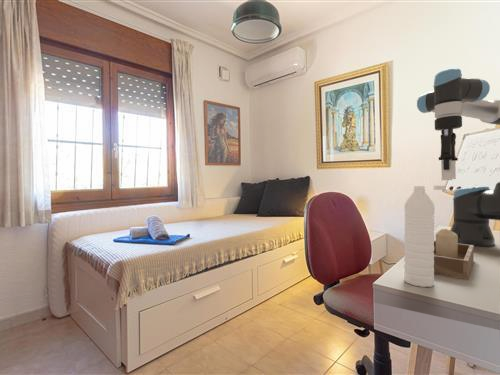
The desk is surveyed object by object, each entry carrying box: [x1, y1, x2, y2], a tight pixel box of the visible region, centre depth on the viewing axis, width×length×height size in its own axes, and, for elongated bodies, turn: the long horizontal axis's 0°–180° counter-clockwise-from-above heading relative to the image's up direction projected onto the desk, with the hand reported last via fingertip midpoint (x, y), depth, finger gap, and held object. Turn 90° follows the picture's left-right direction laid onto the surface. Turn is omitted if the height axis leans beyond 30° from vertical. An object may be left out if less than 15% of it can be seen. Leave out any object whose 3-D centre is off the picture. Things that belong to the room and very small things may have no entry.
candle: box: [435, 228, 459, 259], centre depth 83 cm, size 6×6×10 cm
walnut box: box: [433, 240, 475, 281], centre depth 83 cm, size 23×12×5 cm, turn 137°
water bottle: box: [403, 185, 447, 288], centre depth 68 cm, size 9×6×25 cm
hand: (449, 179), depth 92 cm, fingers open, 13 cm apart
